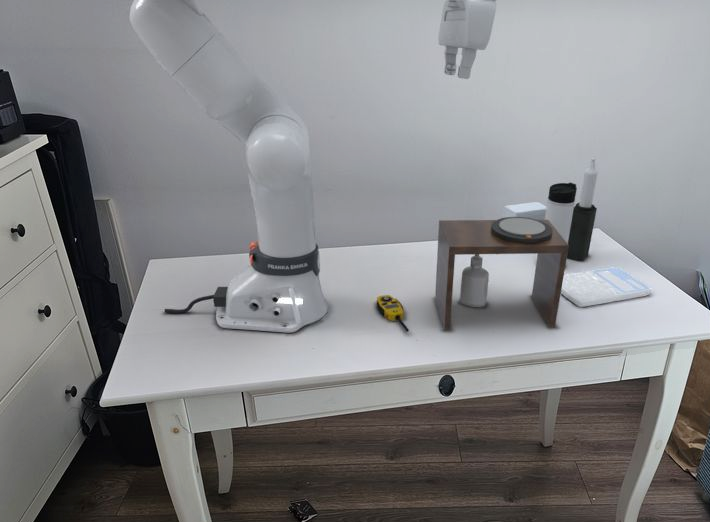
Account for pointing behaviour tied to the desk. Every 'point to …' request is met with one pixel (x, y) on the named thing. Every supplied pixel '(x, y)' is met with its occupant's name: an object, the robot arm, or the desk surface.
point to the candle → (583, 218)
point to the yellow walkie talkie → (391, 309)
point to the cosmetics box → (526, 210)
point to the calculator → (602, 286)
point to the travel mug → (561, 207)
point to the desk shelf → (480, 240)
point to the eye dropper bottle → (474, 283)
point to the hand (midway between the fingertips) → (456, 76)
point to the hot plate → (521, 230)
